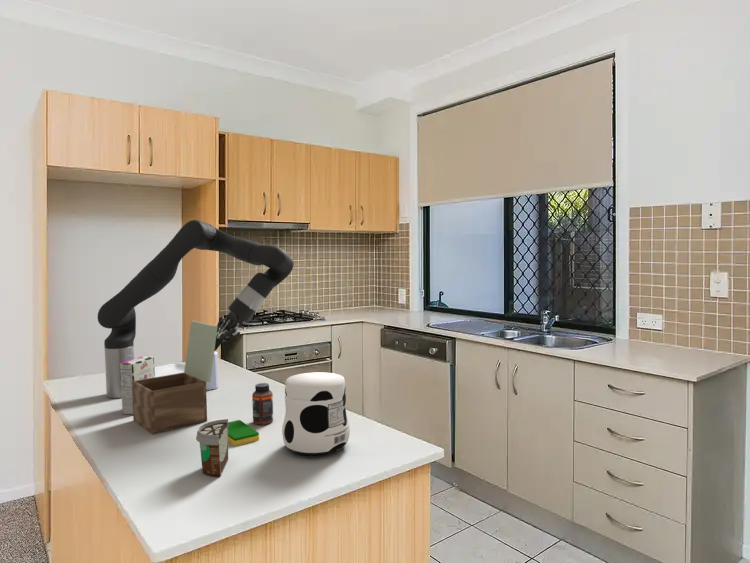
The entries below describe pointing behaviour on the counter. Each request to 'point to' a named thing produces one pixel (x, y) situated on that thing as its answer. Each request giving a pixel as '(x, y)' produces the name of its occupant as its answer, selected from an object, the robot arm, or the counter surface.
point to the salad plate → (169, 369)
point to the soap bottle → (213, 374)
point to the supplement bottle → (262, 404)
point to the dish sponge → (241, 433)
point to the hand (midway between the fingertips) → (211, 349)
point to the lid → (200, 350)
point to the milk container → (315, 413)
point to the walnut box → (169, 402)
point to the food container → (213, 447)
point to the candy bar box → (134, 378)
